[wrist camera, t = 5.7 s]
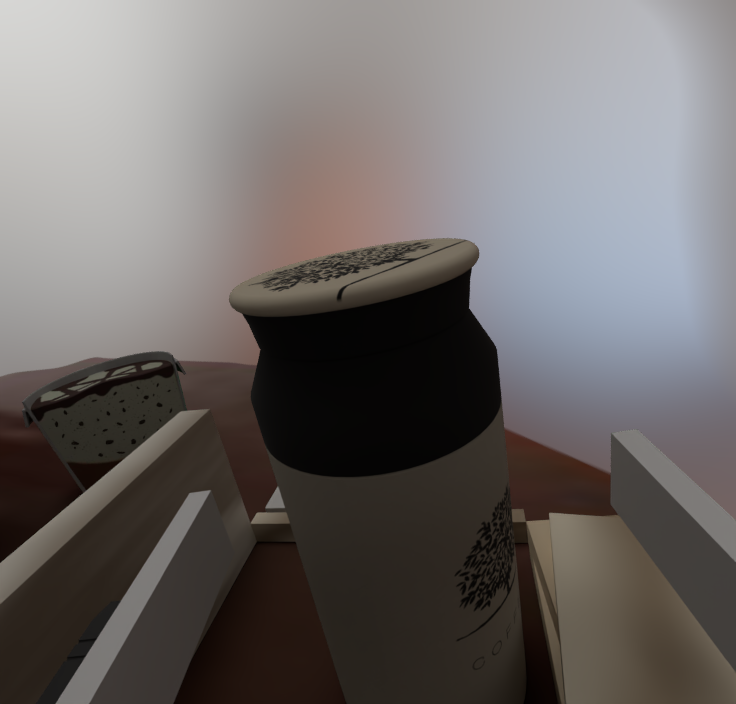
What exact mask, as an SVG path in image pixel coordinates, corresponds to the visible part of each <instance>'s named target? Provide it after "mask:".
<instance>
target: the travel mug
mask: <svg viewBox="0 0 736 704" xmlns="http://www.w3.org/2000/svg"><path fill="white" fill-rule="evenodd" d="M478 258H479V249H478V247H477V246H476V245H475V244H474V243H472V242H470V241H467V240H462V239H450V238H449V239H448V238H446V239H445V238H443V239H425V240H415V241H405V242H397V243H390V244H384V245H378V246H372V247H366V248H360V249H356V250H350V251H346V252H340V253H336V254H331V255H327V256H323V257H318V258H314V259H310V260H306V261H303V262H299V263H295V264H292V265H288V266H285V267H282V268H279V269H275V270H272V271H270V272H266V273H264V274H261V275H258V276H256V277H254V278H251V279H249V280H247V281H245V282H243V283H241V284H240V285H238V286H237V287H235V288H234V289H233V290H232V292H231V293H230V297H229V302H230V304H231V306H232V307H233V308H234V309H235V310H236V311H238V312H240V313H242V314H243V316H244V317H245V319H246V320H247V322H248V324H249V326H250V328H251V330H252V332H253V335H254V337H255V339H256V341H257V343H258V346H259V348H260V349H261V350H260V356H259V359H258V364H257V368H256V373H255V377H254V382H253V386H252V391H251V401H252V405H253V408H254V411H255V414H256V417H257V420H258V424H259V427H260V430H261V433H262V436H263V440H264V443H265V446H266V449H267V452H268V455H269V459H270V462H271V465H272V468H273V471H274V475H275V478H276V481H277V484H278V487H279V490H280V494H281V497H282V500H283V503H284V506H285V510H286V513H287V516H288V519H289V522H290V525H291V529H292V532H293V535H294V538H295V541H296V545H297V548H298V551H299V554H300V557H301V560H302V564H303V567H304V570H305V573H306V576H307V580H308V583H309V586H310V589H311V592H312V595H313V599H314V602H315V605H316V608H317V611H318V615H319V618H320V621H321V624H322V627H323V630H324V634H325V637H326V640H327V643H328V646H329V650H330V653H331V656H332V659H333V662H334V665H335V669H336V672H337V675H338V678H339V681H340V685H341V688H342V691H343V694H344V697H345V700H346V704H524V700H525V694H526V683H527V675H526V662H525V651H524V641H523V630H522V619H521V608H520V597H519V586H518V575H517V564H516V553H515V542H514V531H513V520H512V509H511V498H510V487H509V476H508V465H507V454H506V443H505V432H504V422H503V411H502V400H501V389H500V378H499V367H498V356H497V349H496V346H495V345H494V343H493V342H492V340H491V339H490V337H489V336H488V334H487V333H486V332H485V330H484V329H483V328H482V326H481V325H480V323H479V322H478V320H477V319H476V318H475V316H474V315H473V313H472V312H471V310H470V309H469V296H470V276H471V270H472V267H473V266H474V265H475V263H476V262H477V260H478Z"/></svg>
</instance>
